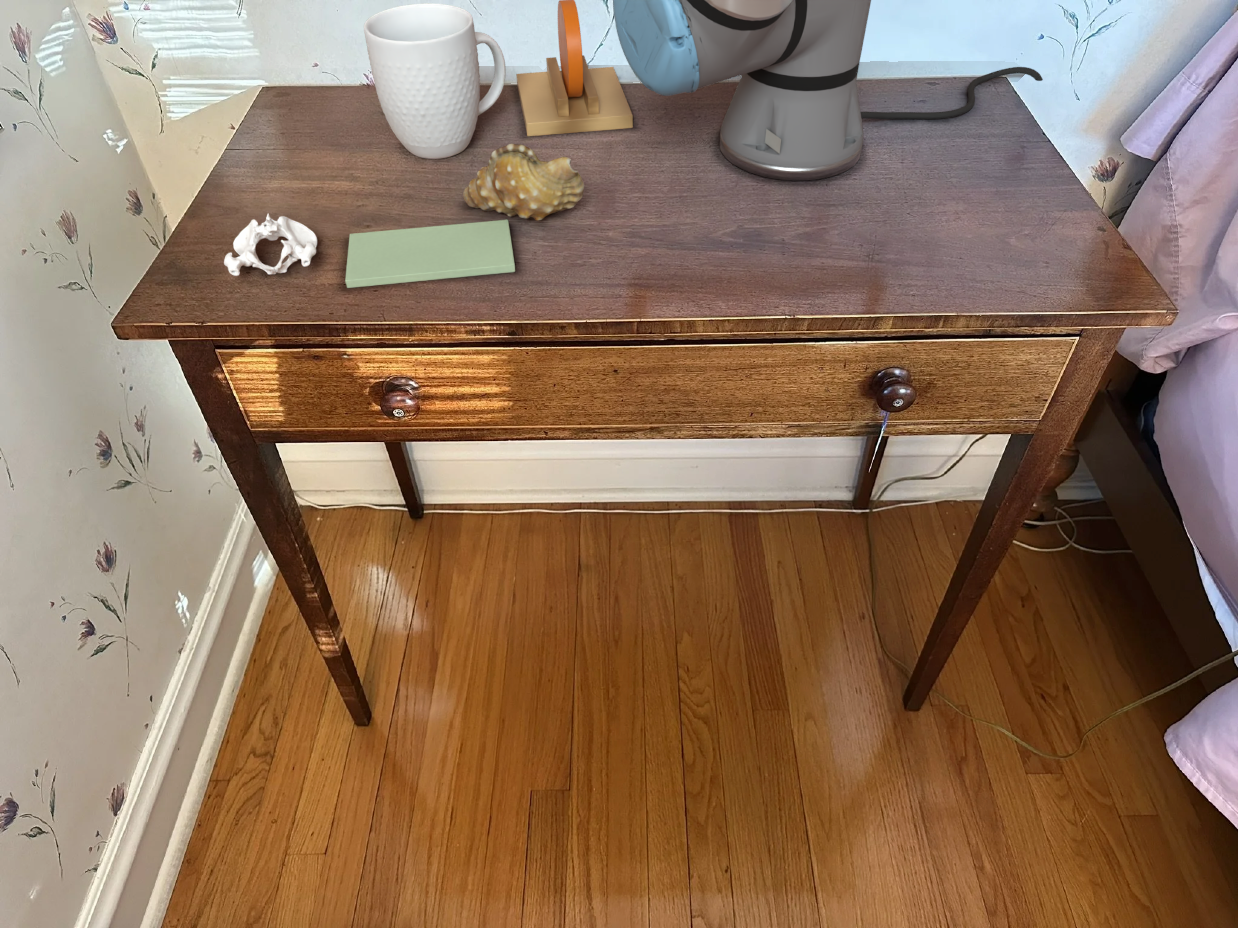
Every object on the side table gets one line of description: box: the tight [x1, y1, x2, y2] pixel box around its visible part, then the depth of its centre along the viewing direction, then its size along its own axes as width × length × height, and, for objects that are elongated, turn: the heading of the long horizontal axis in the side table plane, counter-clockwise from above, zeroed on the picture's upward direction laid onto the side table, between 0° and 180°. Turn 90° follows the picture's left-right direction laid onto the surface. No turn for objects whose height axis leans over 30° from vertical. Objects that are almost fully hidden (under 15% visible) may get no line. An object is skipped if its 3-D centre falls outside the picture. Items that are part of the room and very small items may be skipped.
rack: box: [515, 54, 634, 137], centre depth 105 cm, size 12×14×4 cm
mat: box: [344, 219, 516, 289], centre depth 83 cm, size 15×8×1 cm, turn 99°
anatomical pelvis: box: [223, 213, 318, 277], centre depth 81 cm, size 8×4×7 cm
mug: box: [363, 2, 507, 160], centre depth 95 cm, size 15×11×13 cm
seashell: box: [462, 143, 585, 221], centre depth 86 cm, size 9×8×10 cm
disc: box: [557, 0, 583, 98], centre depth 101 cm, size 2×10×10 cm, turn 9°
